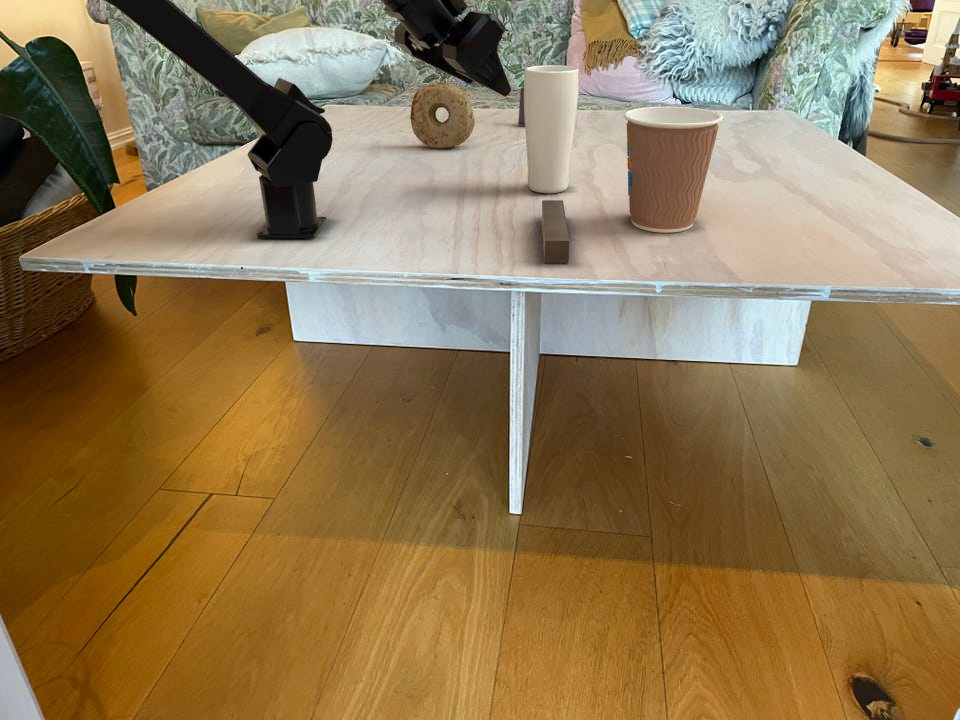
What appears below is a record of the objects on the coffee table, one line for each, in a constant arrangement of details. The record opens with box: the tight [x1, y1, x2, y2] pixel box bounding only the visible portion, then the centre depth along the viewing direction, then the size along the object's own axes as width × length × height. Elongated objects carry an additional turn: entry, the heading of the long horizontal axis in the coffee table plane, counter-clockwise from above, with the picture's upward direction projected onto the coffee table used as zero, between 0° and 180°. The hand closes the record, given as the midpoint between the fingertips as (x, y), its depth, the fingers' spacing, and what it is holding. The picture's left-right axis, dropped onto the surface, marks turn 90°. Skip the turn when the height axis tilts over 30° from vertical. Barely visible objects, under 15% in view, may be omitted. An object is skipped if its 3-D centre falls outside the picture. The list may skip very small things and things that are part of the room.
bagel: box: [409, 81, 476, 149], centre depth 118 cm, size 10×4×10 cm, turn 77°
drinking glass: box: [523, 64, 580, 194], centre depth 94 cm, size 7×7×15 cm
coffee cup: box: [623, 106, 724, 234], centre depth 82 cm, size 10×10×12 cm
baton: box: [541, 199, 570, 265], centre depth 79 cm, size 14×2×2 cm, turn 177°
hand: (489, 87), depth 88 cm, fingers open, 9 cm apart
